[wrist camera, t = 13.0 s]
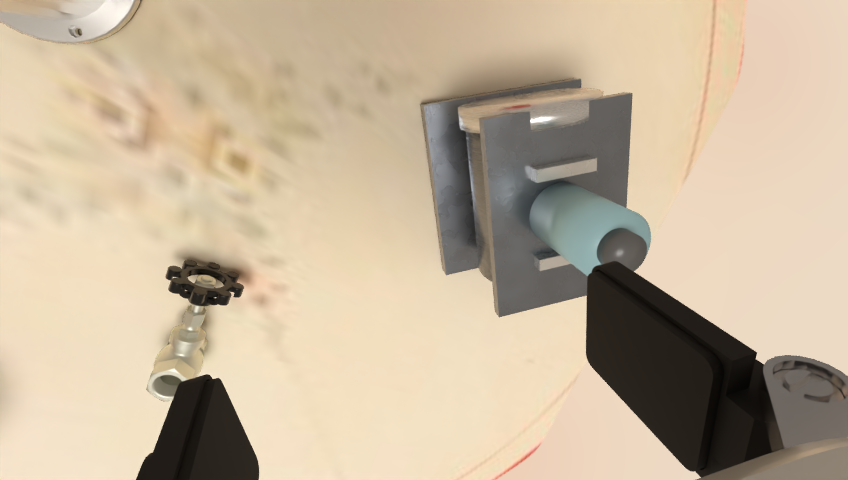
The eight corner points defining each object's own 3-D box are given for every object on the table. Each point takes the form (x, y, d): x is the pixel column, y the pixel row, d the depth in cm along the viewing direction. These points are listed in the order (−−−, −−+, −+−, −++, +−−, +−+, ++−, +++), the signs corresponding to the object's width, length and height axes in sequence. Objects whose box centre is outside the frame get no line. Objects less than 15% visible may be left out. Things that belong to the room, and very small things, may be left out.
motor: (420, 103, 42) (460, 118, 30) (573, 78, 44) (665, 82, 32) (442, 269, 49) (481, 333, 37) (572, 239, 51) (648, 291, 39)
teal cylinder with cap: (527, 189, 34) (590, 226, 26) (588, 176, 35) (666, 208, 27) (531, 248, 36) (590, 299, 28) (587, 235, 37) (661, 280, 29)
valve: (215, 367, 47) (249, 272, 44) (200, 410, 41) (237, 304, 38) (148, 353, 45) (179, 252, 42) (122, 397, 39) (155, 283, 36)
